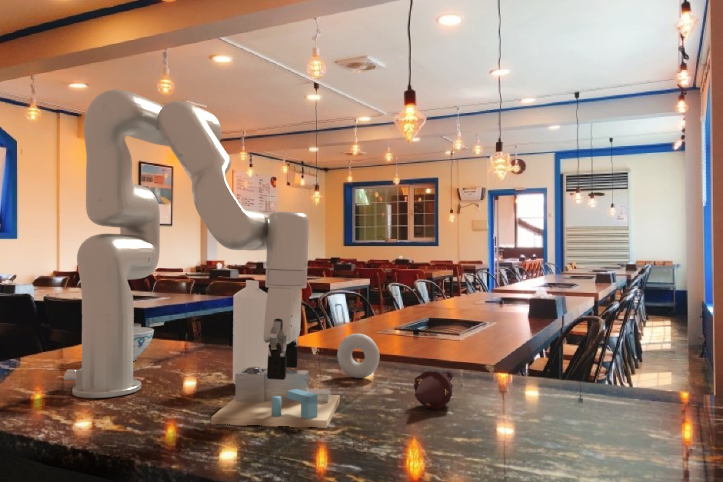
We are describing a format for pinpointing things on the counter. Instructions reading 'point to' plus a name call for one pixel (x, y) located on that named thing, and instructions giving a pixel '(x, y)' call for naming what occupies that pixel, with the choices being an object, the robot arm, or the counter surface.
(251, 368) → the pintle
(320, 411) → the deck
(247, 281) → the milk
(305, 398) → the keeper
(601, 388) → the counter surface
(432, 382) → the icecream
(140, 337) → the chinaware
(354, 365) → the donut
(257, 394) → the link
